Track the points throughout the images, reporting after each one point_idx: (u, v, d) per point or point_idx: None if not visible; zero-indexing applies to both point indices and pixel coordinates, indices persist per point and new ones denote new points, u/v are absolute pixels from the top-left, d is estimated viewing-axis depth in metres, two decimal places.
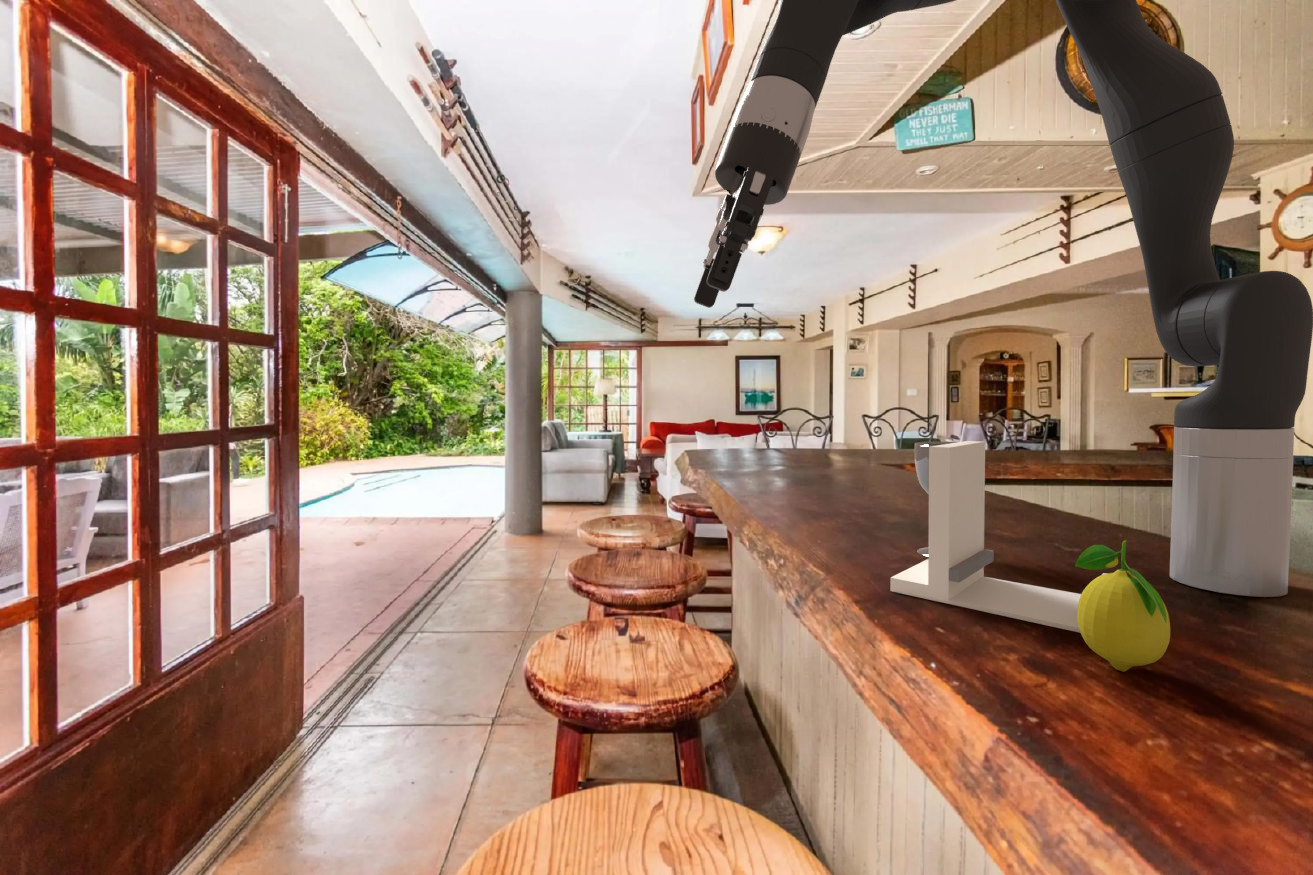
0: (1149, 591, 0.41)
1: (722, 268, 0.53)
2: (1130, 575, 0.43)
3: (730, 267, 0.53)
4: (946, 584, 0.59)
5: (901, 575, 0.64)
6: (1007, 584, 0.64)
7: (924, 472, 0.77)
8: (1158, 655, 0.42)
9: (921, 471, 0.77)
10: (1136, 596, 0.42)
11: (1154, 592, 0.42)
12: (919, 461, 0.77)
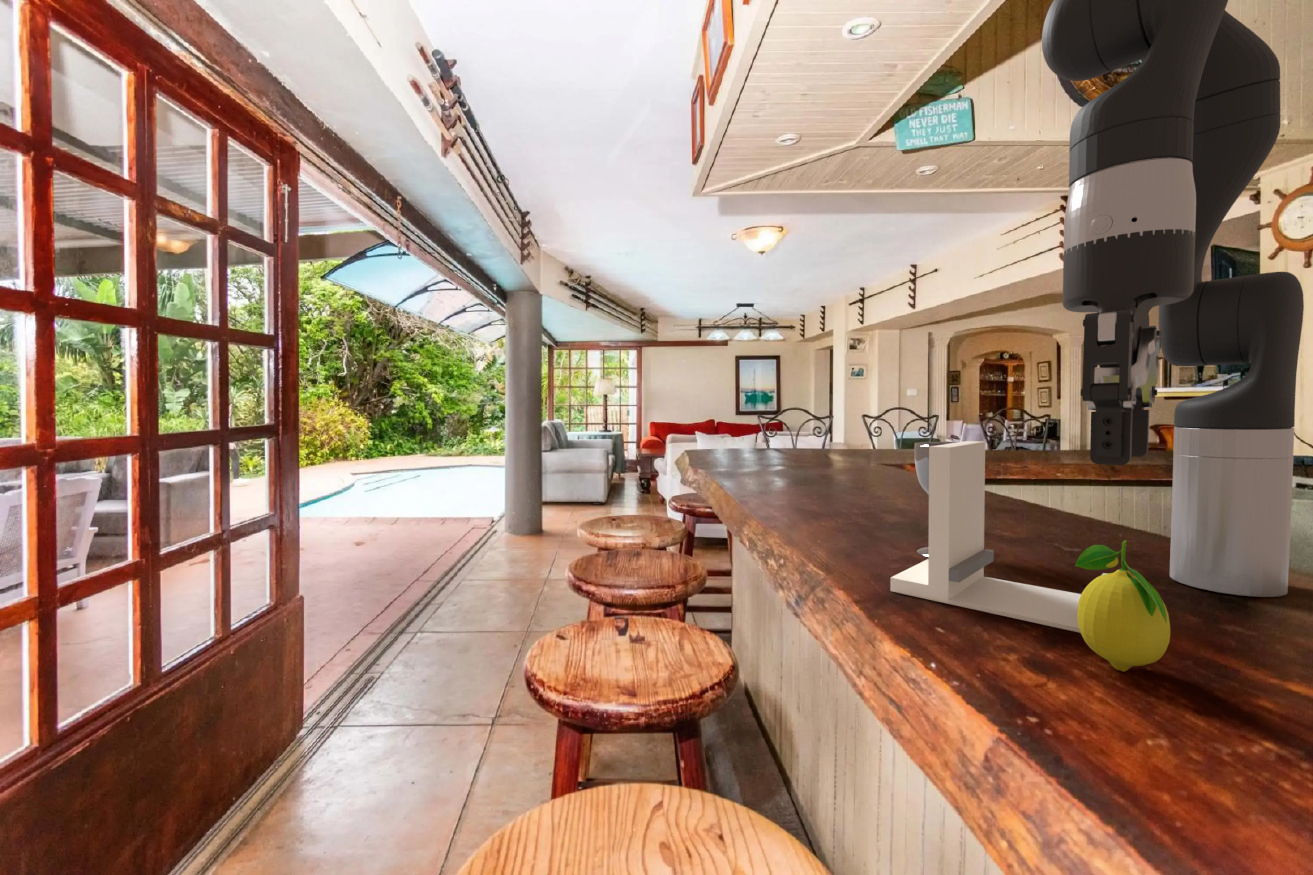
0: (1149, 591, 0.41)
1: (1105, 441, 0.40)
2: (1130, 575, 0.43)
3: (1115, 437, 0.39)
4: (946, 584, 0.59)
5: (901, 575, 0.64)
6: (1007, 584, 0.64)
7: (924, 472, 0.77)
8: (1158, 655, 0.42)
9: (921, 471, 0.77)
10: (1136, 596, 0.42)
11: (1154, 592, 0.42)
12: (919, 461, 0.77)
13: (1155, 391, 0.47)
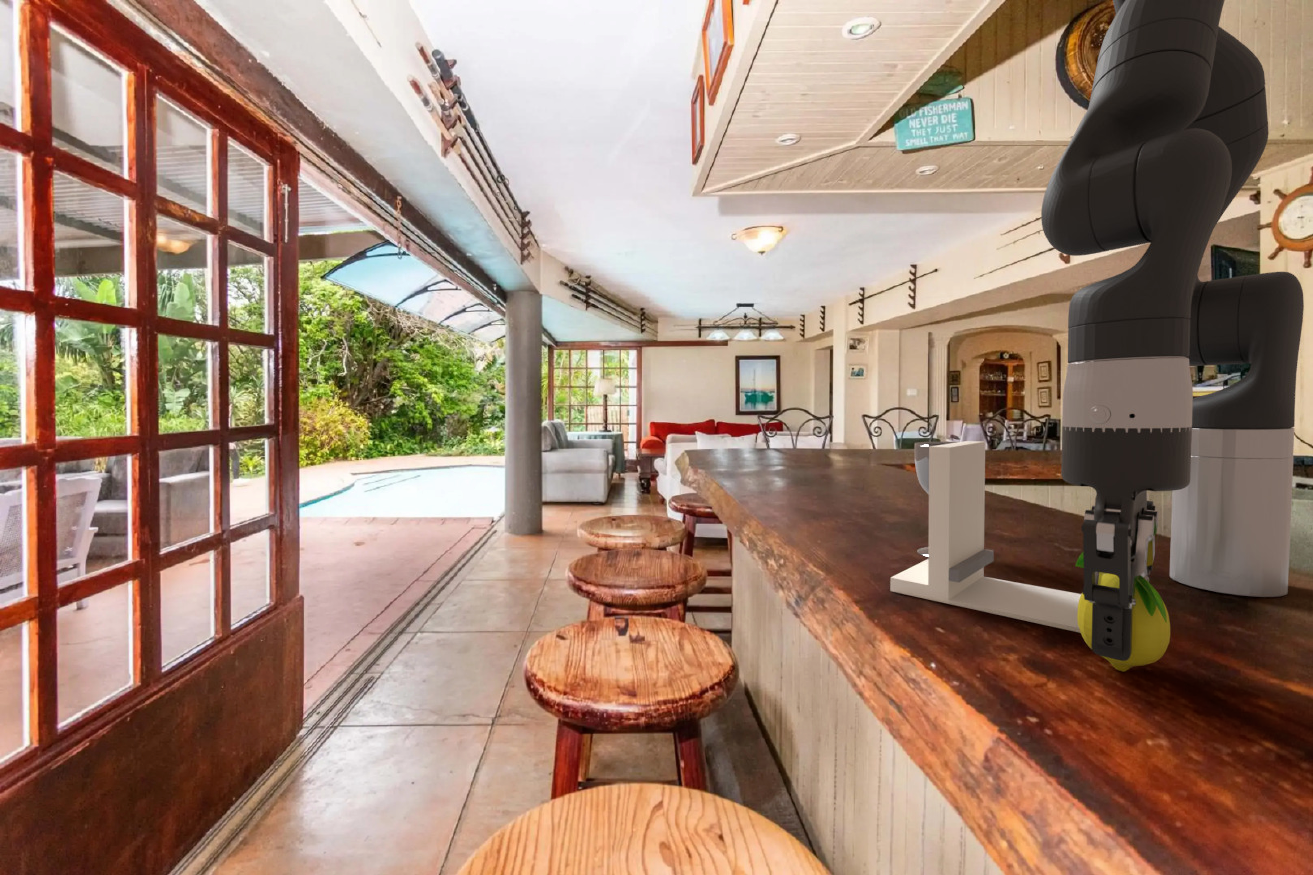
0: (1149, 591, 0.41)
1: (1106, 637, 0.41)
2: None
3: (1116, 635, 0.41)
4: (946, 584, 0.59)
5: (901, 575, 0.64)
6: (1007, 584, 0.64)
7: (924, 472, 0.77)
8: (1158, 655, 0.42)
9: (921, 471, 0.77)
10: (1136, 596, 0.42)
11: (1154, 592, 0.42)
12: (919, 461, 0.77)
13: (1150, 566, 0.46)
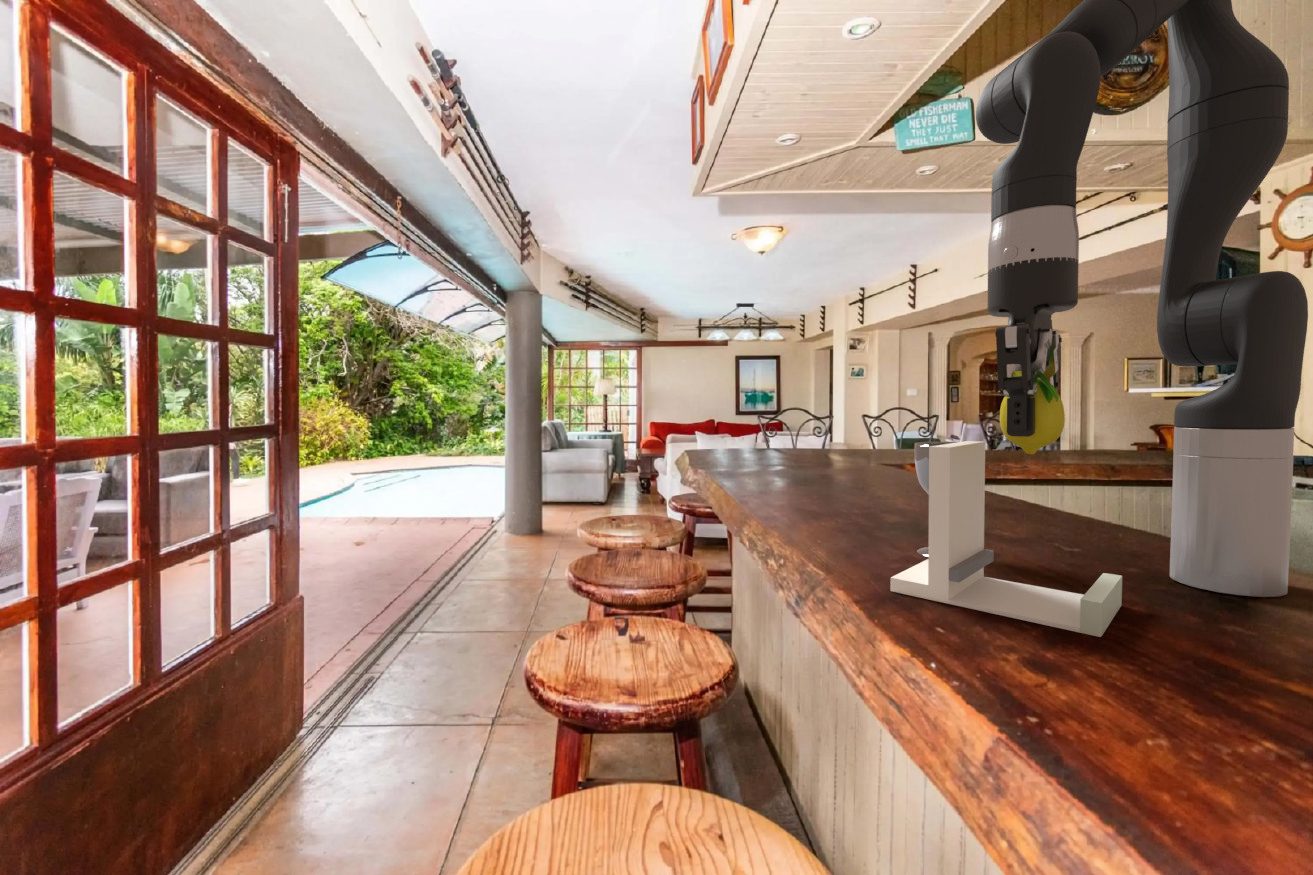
0: (1046, 383, 0.55)
1: (1016, 419, 0.55)
2: None
3: (1022, 416, 0.55)
4: (946, 584, 0.59)
5: (901, 575, 0.64)
6: (1007, 584, 0.64)
7: (924, 472, 0.77)
8: (1054, 433, 0.56)
9: (921, 471, 0.77)
10: (1039, 390, 0.56)
11: (1051, 386, 0.56)
12: (919, 461, 0.77)
13: (1057, 383, 0.60)
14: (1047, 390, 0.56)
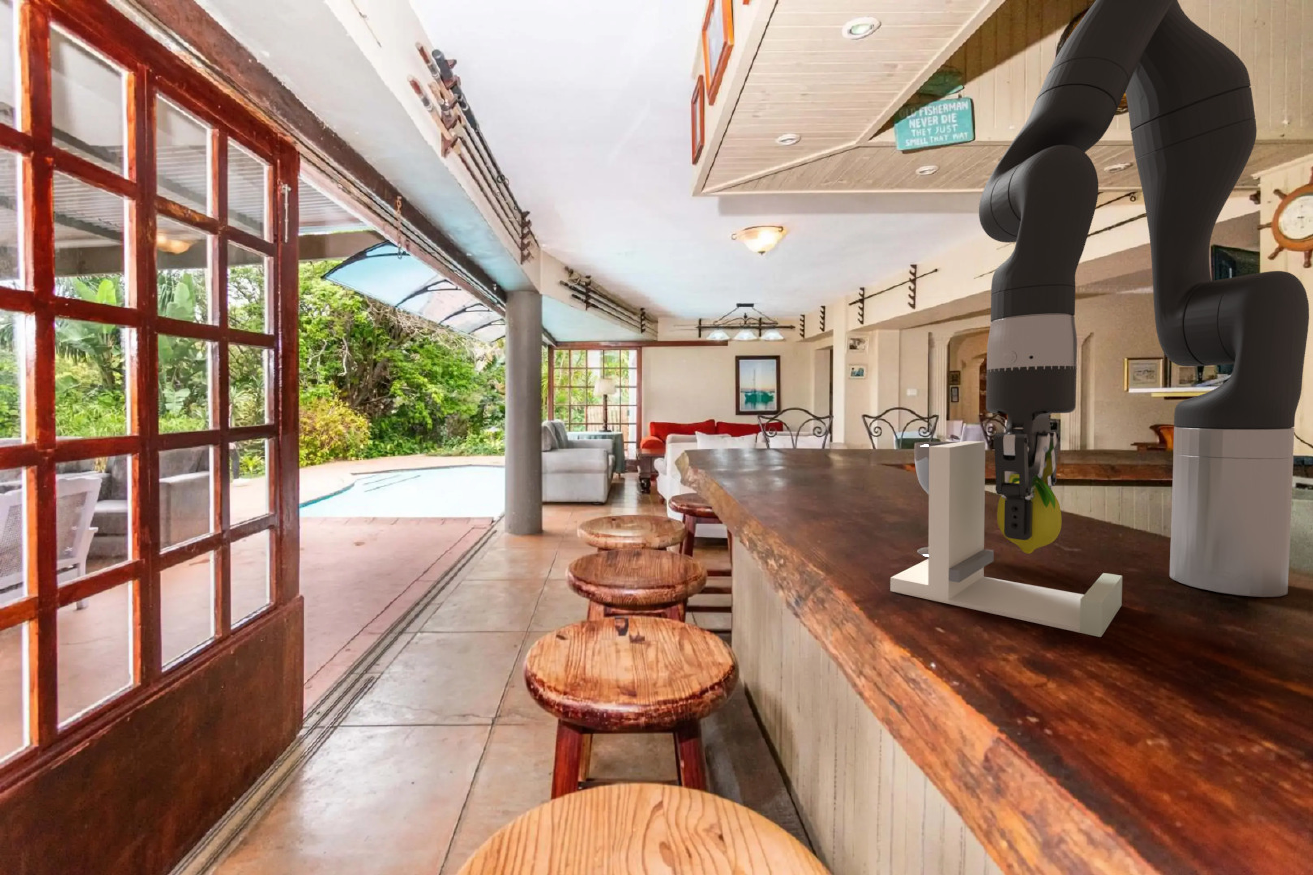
0: (1044, 488, 0.55)
1: (1013, 522, 0.56)
2: None
3: (1020, 520, 0.55)
4: (946, 584, 0.59)
5: (901, 575, 0.64)
6: (1007, 584, 0.64)
7: (924, 472, 0.77)
8: (1051, 537, 0.56)
9: (921, 471, 0.77)
10: (1036, 493, 0.56)
11: (1049, 490, 0.56)
12: (919, 461, 0.77)
13: (1054, 479, 0.61)
14: (1044, 493, 0.56)
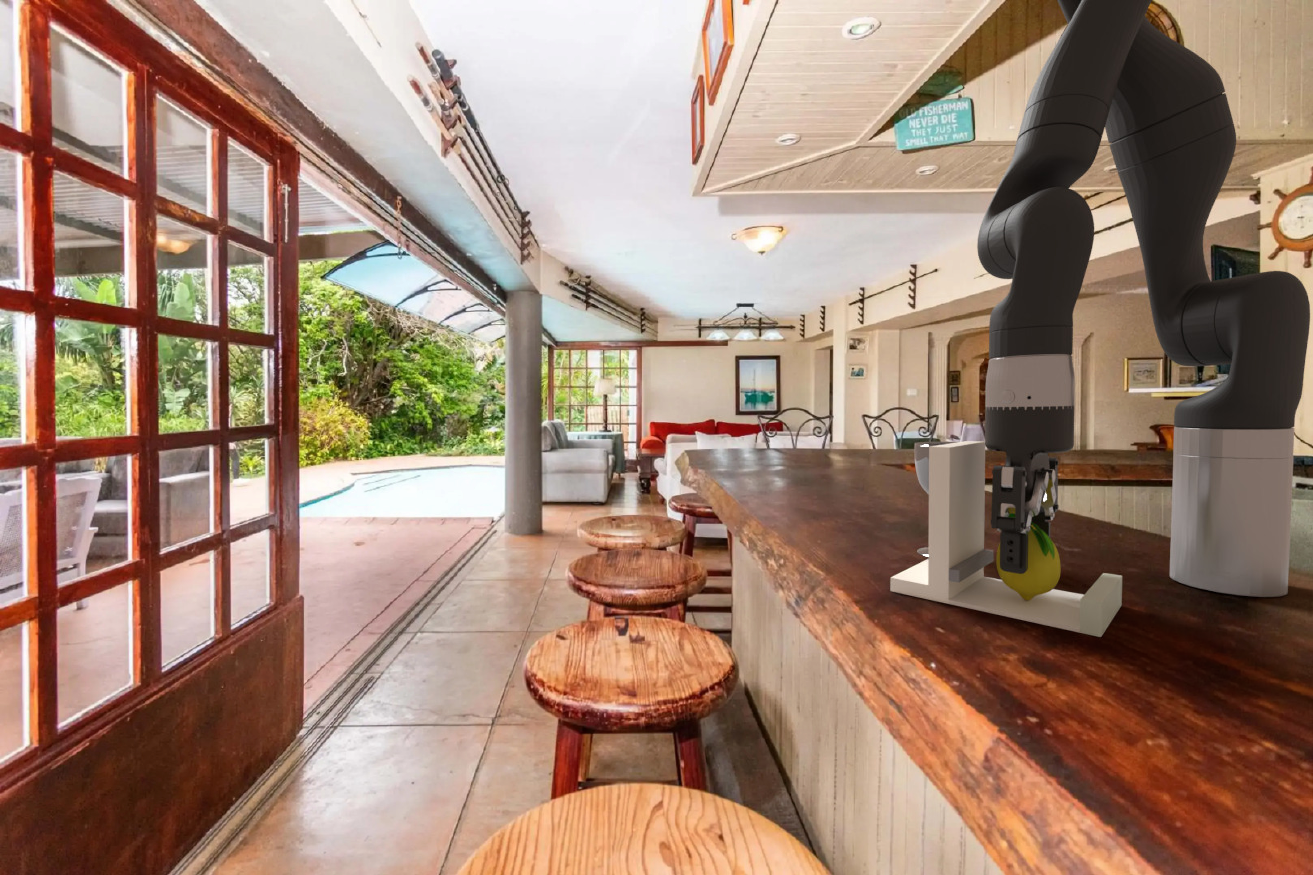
0: (1043, 537, 0.56)
1: (1009, 556, 0.55)
2: (1032, 528, 0.58)
3: (1015, 554, 0.55)
4: (946, 584, 0.59)
5: (901, 575, 0.64)
6: None
7: (924, 472, 0.77)
8: (1051, 585, 0.56)
9: (921, 471, 0.77)
10: (1035, 542, 0.56)
11: (1048, 539, 0.56)
12: (919, 461, 0.77)
13: (1056, 506, 0.62)
14: (1043, 542, 0.56)
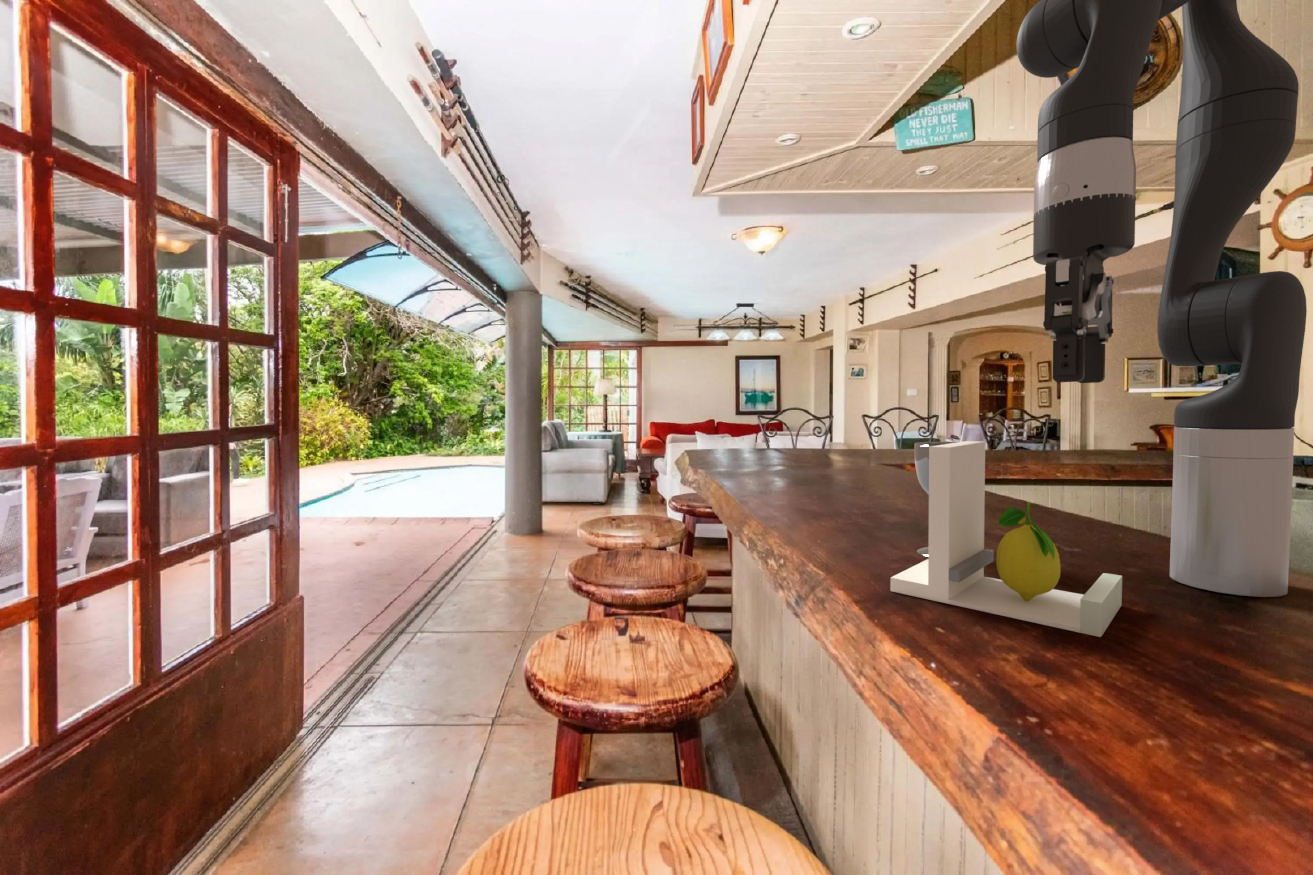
0: (1043, 537, 0.56)
1: (1063, 363, 0.50)
2: (1032, 528, 0.58)
3: (1071, 358, 0.50)
4: (946, 584, 0.59)
5: (901, 575, 0.64)
6: None
7: (924, 472, 0.77)
8: (1051, 585, 0.56)
9: (921, 471, 0.77)
10: (1035, 542, 0.56)
11: (1048, 539, 0.56)
12: (919, 461, 0.77)
13: (1111, 330, 0.57)
14: (1043, 542, 0.56)
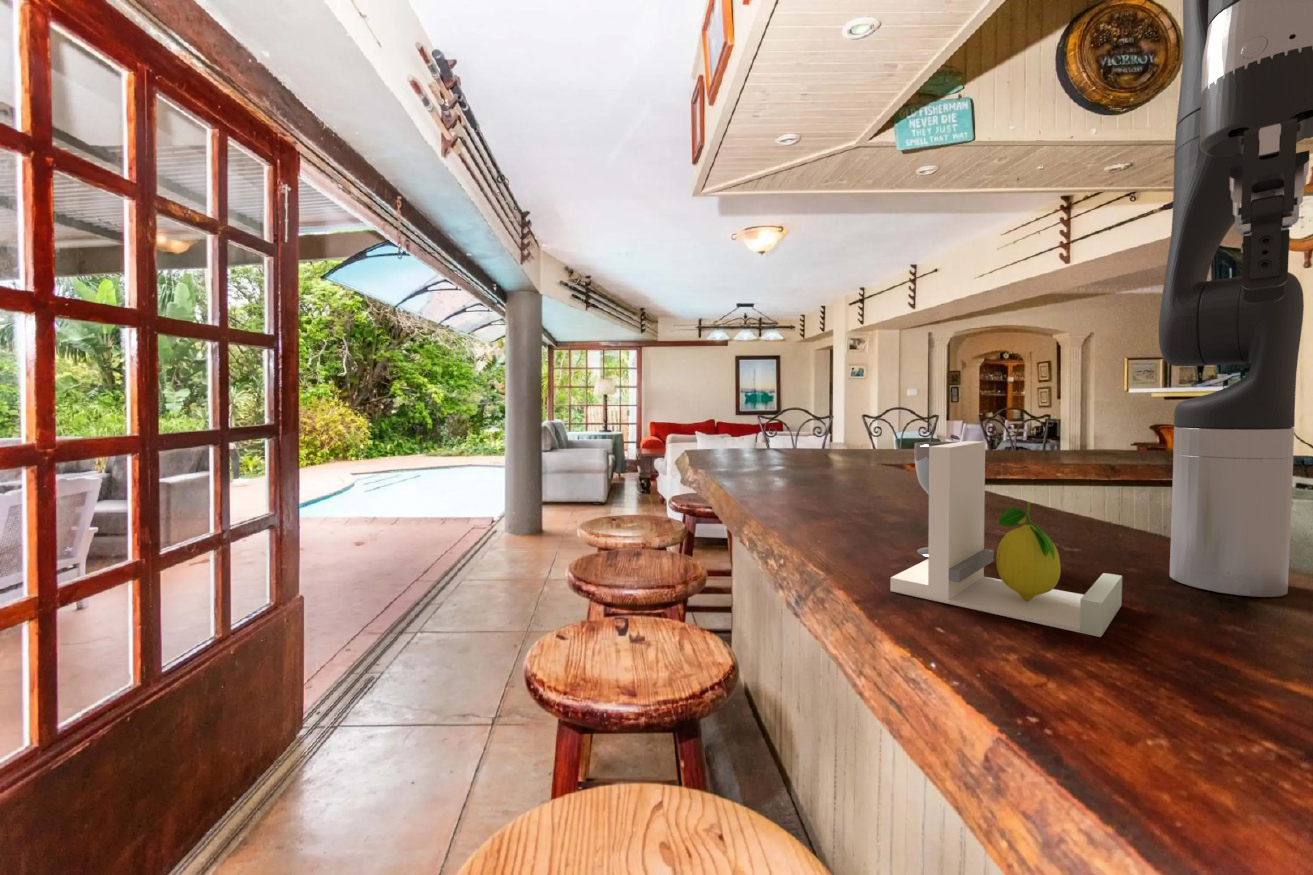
0: (1043, 537, 0.56)
1: (1261, 262, 0.40)
2: (1032, 528, 0.58)
3: (1273, 255, 0.39)
4: (946, 584, 0.59)
5: (901, 575, 0.64)
6: None
7: (924, 472, 0.77)
8: (1051, 585, 0.56)
9: (921, 471, 0.77)
10: (1035, 542, 0.56)
11: (1048, 539, 0.56)
12: (919, 461, 0.77)
13: None
14: (1043, 542, 0.56)
